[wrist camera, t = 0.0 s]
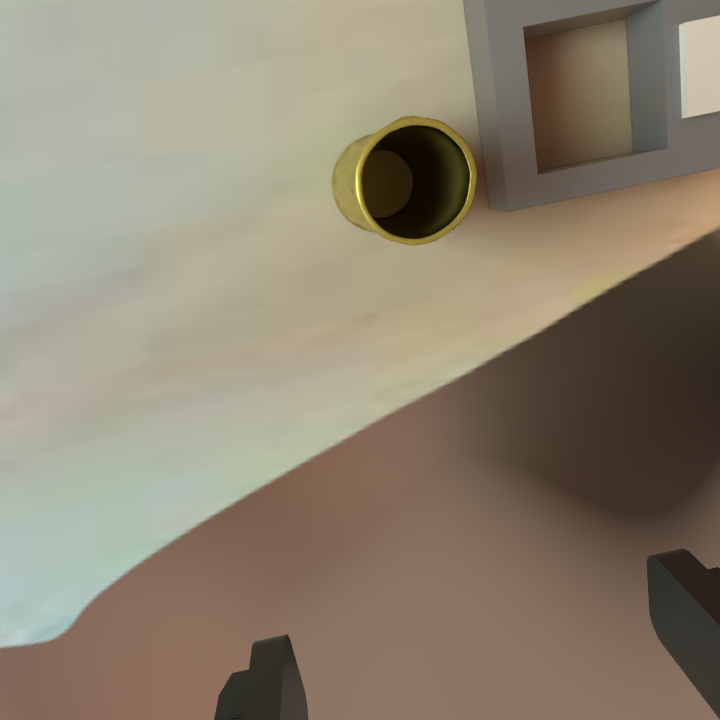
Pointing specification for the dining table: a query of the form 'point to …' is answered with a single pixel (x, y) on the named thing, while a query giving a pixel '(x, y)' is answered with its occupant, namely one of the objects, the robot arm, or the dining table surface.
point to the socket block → (647, 94)
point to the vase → (406, 181)
